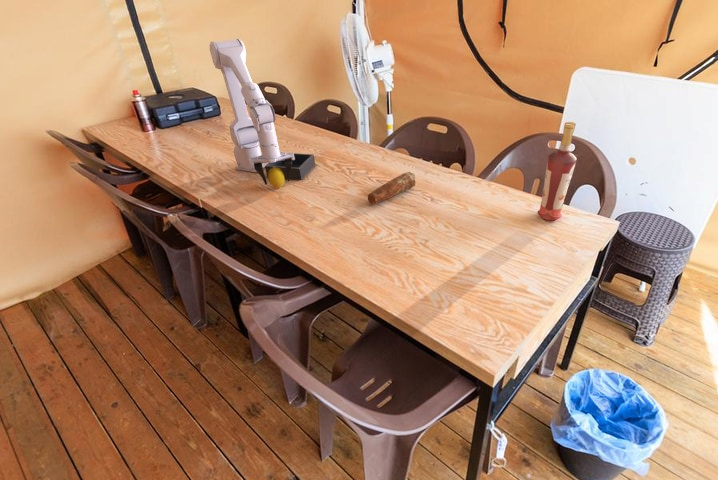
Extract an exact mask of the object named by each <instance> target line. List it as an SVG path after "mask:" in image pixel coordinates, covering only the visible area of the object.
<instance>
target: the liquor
mask: <svg viewBox="0 0 718 480" xmlns="http://www.w3.org/2000/svg"><path fill="white" fill-rule="evenodd" d="M576 125H577V124H576V122H574V121H566V122H564V125H563V134H562V137H561V141H560V144H559V147H558V150H557V151H553V152H551V153H549V155H548V157H547V164H546V169H545V175H544V183H543V189H542V196H541V201H540V206H539V210H538V211H537V215H538V216H539V217H540V218H541V219H542V220H544V221H546V222H555V221H557V220H559V219H561V218H562V215H563V214H562V210H563V207H564V202H565V198H566V195H567V192H568V188H569V186H570V183H571V179H572V178H573V173H574V170H575V167H576V164H577V157H576V156H575V154H574V153H572V152H571V146H572V140H573V135H574V132H575V130H576Z"/></svg>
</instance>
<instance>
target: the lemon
mask: <svg viewBox="0 0 718 480" xmlns="http://www.w3.org/2000/svg"><path fill="white" fill-rule="evenodd" d="M267 179H268V182H269V184H270V185H271V187H274V188H277V189H280V188H281V187H283V186H284V185H285V182H286V179H285V176H284V173H283V171H282V170H281V169H280V168H277V167H273V168H271V169H270V170H269V172H268V177H267Z"/></svg>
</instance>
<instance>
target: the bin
mask: <svg viewBox="0 0 718 480" xmlns="http://www.w3.org/2000/svg"><path fill="white" fill-rule="evenodd" d="M280 153H283V152H280ZM293 153H294V157H295V160H292V166H291V170H290V180H295V181H296V180H297V181H302V180H303V179H304V178H305V177H306V176H307V175H308V174H310V172H311V171H312V170H313V169H314V167H315V166H316V160H315V155H314V153H313V154H311V153H310V154H309V153H299V152H298V153H297V152H296V153H295V152H293ZM273 167H277V168H280V169H281V170H282V171H283V173H284V176H285V180H287V175H286V168H285V163H284V161H276V162H272V163H270V162H269V163H268V164H267V165H266V166H265V167H264V169H265V173H266V178H268V172H269V170H270V169H271V168H273Z"/></svg>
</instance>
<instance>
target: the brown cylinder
mask: <svg viewBox="0 0 718 480" xmlns="http://www.w3.org/2000/svg"><path fill="white" fill-rule="evenodd" d="M415 179H416V175H415V173H413V172H411V171H406V172H404V173H401V174H400V175H398V176H396V177H394V178H392V179H391V180H389V181H387V182H385V183H384V184H382V185H381V186H379V187H377V188H376V189H374V190H372V191H371V192H369V193H368V194H367V201H368V203H369V204H370V205H377V204H378V203H381V202H383V201H386V200H388V199H390V198H392V197H395V196H397V195H399V194H401V193H403V192H406V191H408V190H411V189H412V188H414V187H415V186H416V180H415Z"/></svg>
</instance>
